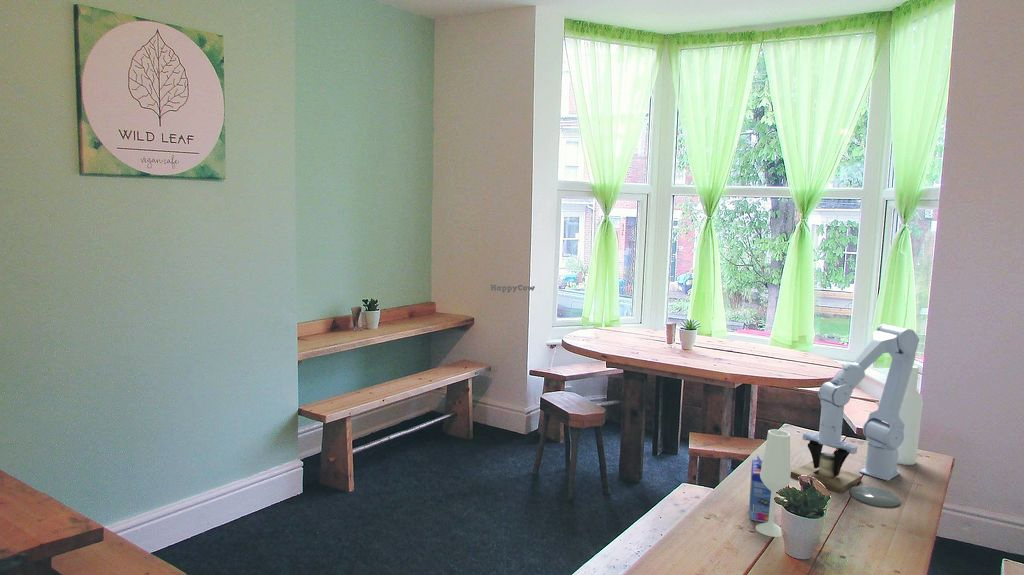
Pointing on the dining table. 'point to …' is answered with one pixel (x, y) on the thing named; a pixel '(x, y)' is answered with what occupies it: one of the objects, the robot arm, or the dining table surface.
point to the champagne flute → (775, 474)
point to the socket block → (834, 484)
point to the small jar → (826, 465)
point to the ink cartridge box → (758, 494)
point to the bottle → (910, 420)
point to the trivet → (874, 496)
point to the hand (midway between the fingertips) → (826, 470)
